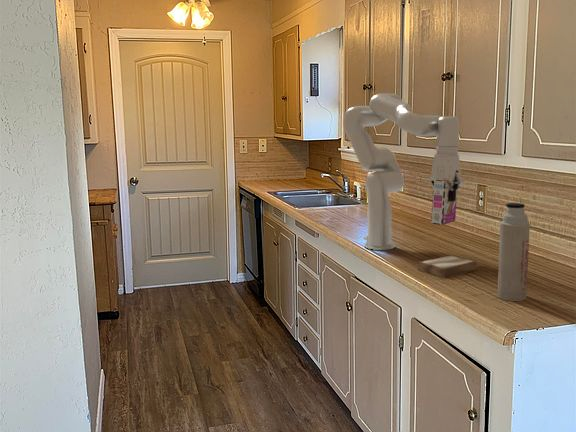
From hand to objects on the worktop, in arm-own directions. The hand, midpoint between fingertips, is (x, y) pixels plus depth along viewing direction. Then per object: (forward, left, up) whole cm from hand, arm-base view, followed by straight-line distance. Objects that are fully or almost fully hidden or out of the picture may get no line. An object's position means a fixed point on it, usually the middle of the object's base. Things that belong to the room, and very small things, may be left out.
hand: (444, 199), depth 211 cm
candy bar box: (0, 0, -9) cm, 9 cm away
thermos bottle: (+43, -18, -23) cm, 52 cm away
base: (+11, -10, -23) cm, 27 cm away
